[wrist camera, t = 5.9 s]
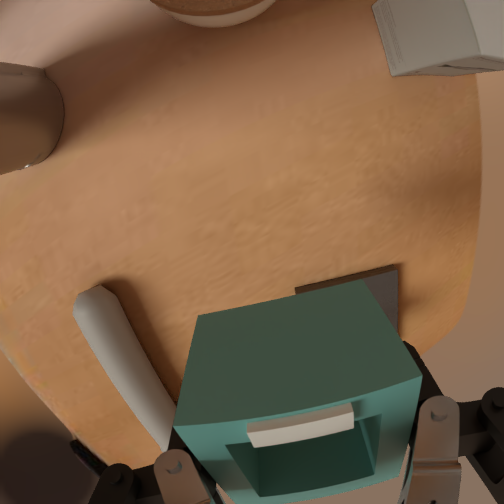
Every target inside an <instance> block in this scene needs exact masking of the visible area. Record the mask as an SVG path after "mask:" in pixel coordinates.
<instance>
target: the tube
mask: <svg viewBox="0 0 504 504" xmlns="http://www.w3.org/2000/svg"><path fill="white" fill-rule="evenodd" d="M73 316H74V318H75V320H76V322H77V324H78V325H79V327H80V329H81V331H82V333H83V335H84V336H85V338H86V340H87V342H88V343H89V345H90V347H91V349H92V350H93V352H94V354H95V355H96V357H97V359H98V360H99V362H100V363H101V365H102V367H103V368H104V370H105V371H106V373H107V375H108V376H109V378H110V379H111V381H112V382H113V384H114V385H115V387H116V388H117V390H118V391H119V393H120V394H121V396H122V397H123V398H124V400H125V401H126V403H127V404H128V406H129V407H130V408H131V410H132V411H133V412H134V414H135V415H136V417H137V418H138V419H139V421H140V422H141V423H142V424H143V426H144V427H145V428H146V430H147V431H148V432H149V433H150V435H151V436H152V437H153V439H154V440H155V441H156V442H157V443H158V445H159V446H160V447H161V448H160V450H161V451H162V452H166V451H167V449H168V445H169V440H170V435H171V430H172V425H173V421H174V418H175V411H176V406H175V404H174V402H173V401H172V399H171V397H170V396H169V394H168V393H167V391H166V389H165V388H164V386H163V384H162V382H161V381H160V379H159V377H158V376H157V374H156V372H155V370H154V369H153V367H152V365H151V363H150V361H149V360H148V358H147V356H146V354H145V352H144V350H143V348H142V347H141V345H140V343H139V341H138V339H137V337H136V335H135V333H134V331H133V329H132V327H131V325H130V323H129V321H128V319H127V317H126V315H125V313H124V311H123V309H122V307H121V305H120V302H119V300H118V298H117V296H116V295H114V294H113V293H111V292H110V291H108V290H107V289H105V288H104V287H102V286H101V285H98V286H96V287H93V288H91V289H88V290H86V291H84V292H82V293H80V294H78V296H77V298H76V300H75V303H74V307H73Z"/></svg>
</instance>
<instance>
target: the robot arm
mask: <svg viewBox="0 0 504 504" xmlns="http://www.w3.org/2000/svg"><path fill="white" fill-rule="evenodd" d="M63 118H64V109H63V102H62V97H61V94H60V92H59V90H58V88H57V87H56V86H55V84H54V83H53V82H52V81H50V80H49V79H48V78H47V77H46V76H45V71H44V69H43V68H37V67H31V66H25V65H19V64H12V63H5V62H0V175H2V174H6V173H9V172H12V171H16V170H21V169H24V168H27V167H30V166H33V165H36V164H38V163H40V162H41V161H43V160H44V159H45V158H46V157H47V156H48V155H49V154H50V153H51V152H52V150H53V149H54V147H55V145H56V144H57V141H58V139H59V137H60V134H61V130H62V126H63ZM403 343H404V345H405V346H406V348H407V350H408V351H409V353H410V355H411V356H412V358H413V360H414V361H415V363H416V365H417V366H418V368H419V370H420V371H421V373H422V375H423V376H422V382H421V388H420V393H419V398H418V403H417V408H416V413H415V417H414V422H413V426H412V430H411V434H410V438H409V442H408V444H409V446H410V449H409V454H408V460H407V465H406V470H405V475H404V480H403V485H402V489H401V493H400V497H399V500H398V503H397V504H458V497H459V489H460V482H461V464H460V463H458V457H460V456H466V458H467V459H468V460H469V462H470V463H471V465H472V466H473V468H474V469H475V471H476V472H477V473H478V475H479V476H480V478H481V479H482V481H483V482H484V484H485V485H486V487H487V488H488V490H489V491H490V493H491V494H492V496H493V497H494V499H495V500H496V502H497V503H498V504H504V388H502V387H496V388H492V389H490V390H489V391H487V392H486V393H485V394H484V396H483V398H482V400H477V401H471V402H462V403H461V402H455V401H454V400H453V399H452V398H450V397H447V396H444V395H443V394H442V392H441V390H440V389H439V387H438V385H437V384H436V382H435V380H434V379H433V377H432V375H431V374H430V372H429V370H428V369H427V367H426V366H425V364H424V362H423V361H422V359H421V358H420V356H419V354H418V352H417V351H416V349H415V348H414V347H413V346H412V345H410V344H409V343H407V342H406V341H403ZM178 399H179V398H178ZM177 404H178V402H177ZM176 408H177V407H176ZM175 413H176V411H175ZM173 422H174V421H173ZM88 504H226V503H225V502H224V500H223V498H222V496H221V494H220V492H219V490H218V489H217V487H216V481H215V480H214V479H213V478H212V476H211V475H210V474H209V473H208V472H207V470H206V469H205V468H204V467H203V465H202V464H201V463H200V462H199V461H198V459H197V458H196V457H195V455H194V454H193V453H192V452H191V450H190V449H189V448H188V446H187V445H186V444H185V442H184V441H183V440H182V438H181V437H180V436H179V434H178V433H177V432H176V430H175V429H174V427H173V425H172V430H171V435H170V440H169V445H168V449H167V451H166V452H164V453H162V454H161V455H160V456H159V457H158V458H157V459H156V461H155V463H154V464H152V465H149V466H146V467H142V468H138V469H134V470H132V469H131V468H130V467H129V466H127V465H125V464H121V463H117V464H113V465H111V466H109V467H107V468H106V469H105V470H104V471H103V473H102V475H101V477H100V479H99V481H98V484H97V486H96V488H95V490H94V492H93V494H92V496H91V498H90V501H89V503H88Z"/></svg>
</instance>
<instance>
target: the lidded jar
mask: <svg viewBox="0 0 504 504" xmlns="http://www.w3.org/2000/svg"><path fill="white" fill-rule="evenodd" d="M150 1H151V2H153V3H155V4H156V5H157V6H158V7H159V8H160V9H161V10H162V11H164V12H165V13H167V14H168V15H170V16H171V17H173V18H175V19H177V20H179V21H181V22H184V23H187V24H190V25H194V26H199V27H210V28H217V27H227V26H232V25H236V24H240V23H243V22H246V21H248V20H250V19H253V18H255V17H256V16H258V15H260V14H261V13H263V12H264V11H265V10H266V9H268V8H269V7H270V6H271V5H272V4H273V3H274V2H275V1H276V0H150Z"/></svg>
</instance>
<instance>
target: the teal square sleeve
mask: <svg viewBox="0 0 504 504" xmlns="http://www.w3.org/2000/svg"><path fill="white" fill-rule="evenodd" d="M422 376H423V375H422V373H421V371H420V370H419V368H418V366H417V365H416V363H415V361H414V360H413V358H412V356H411V355H410V353H409V351H408V350H407V348H406V346H405V345H404V343H403V341H402V340H401V338H400V337H399V335H398V333H397V332H396V330H395V329H394V327H393V325H392V324H391V322H390V321H389V319H388V317H387V316H386V314H385V313H384V311H383V310H382V308H381V307H380V305H379V304H378V302H377V301H376V299H375V297H374V296H373V294H372V293H371V291H370V290H369V288H368V287H367V285H366V284H365V282H364V281H363V280H362V279H359V280H355V281H351V282H347V283H343V284H339V285H335V286H331V287H327V288H323V289H319V290H314V291H310V292H306V293H302V294H297V295H293V296H289V297H284V298H280V299H275V300H271V301H266V302H261V303H257V304H252V305H247V306H243V307H238V308H233V309H228V310H223V311H218V312H213V313H208V314H203V315H198V318H197V322H196V326H195V330H194V334H193V339H192V343H191V347H190V351H189V355H188V360H187V364H186V368H185V373H184V377H183V381H182V386H181V390H180V395H179V399H178V404H177V408H176V413H175V418H174V422H173V427H174V429H175V430H176V432H177V433H178V434H179V436H180V437H181V438H182V440H183V441H184V442H185V444H186V445H187V446H188V448H189V449H190V450H191V452H192V453H193V454H194V455H195V457H196V458H197V459H198V461H199V462H200V463H201V464H202V465H203V467H204V468H205V469H206V470H207V472H208V473H209V474H210V475H211V476H212V478H213V479H214V480H215V481H216V482H217V483H218V485H219V486H220V487H221V488H222V489H223V490H224V491H225V493H227V495H228V496H229V497H230V498H231V499H232V500H233V501H234V502H235V504H284V503H291V502H298V501H304V500H310V499H315V498H320V497H325V496H330V495H334V494H339V493H343V492H347V491H351V490H355V489H359V488H363V487H366V486H370V485H373V484H377V483H380V482H383V481H386V480H389V479H392V478H395V477H398V475H399V472H400V469H401V466H402V462H403V460H404V456H405V452H406V449H407V445H408V442H409V438H410V434H411V430H412V426H413V422H414V417H415V413H416V408H417V403H418V398H419V393H420V388H421V382H422Z"/></svg>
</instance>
